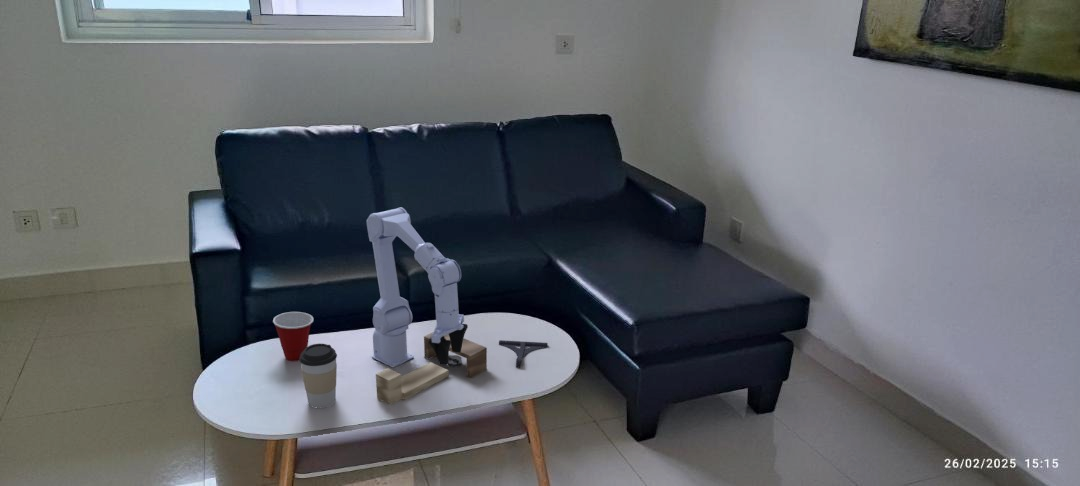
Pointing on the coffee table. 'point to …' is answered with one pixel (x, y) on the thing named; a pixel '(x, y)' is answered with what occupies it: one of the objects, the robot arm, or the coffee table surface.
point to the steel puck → (454, 361)
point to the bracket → (522, 348)
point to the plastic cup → (293, 333)
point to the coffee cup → (319, 374)
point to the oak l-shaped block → (407, 382)
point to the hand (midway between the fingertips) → (450, 357)
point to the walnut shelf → (463, 354)
